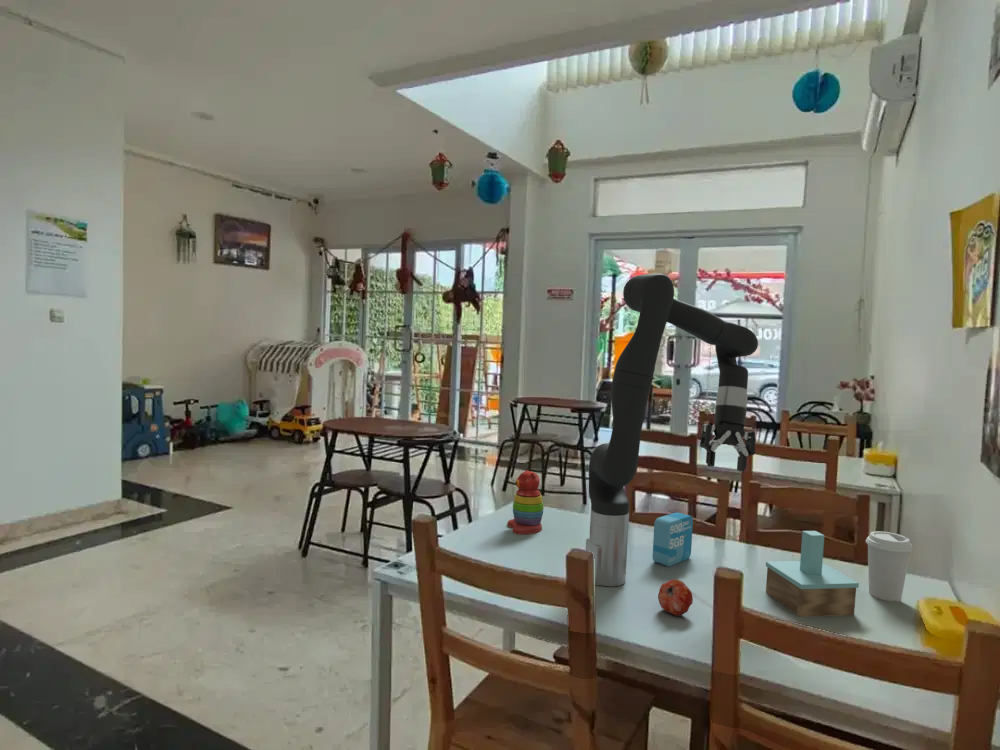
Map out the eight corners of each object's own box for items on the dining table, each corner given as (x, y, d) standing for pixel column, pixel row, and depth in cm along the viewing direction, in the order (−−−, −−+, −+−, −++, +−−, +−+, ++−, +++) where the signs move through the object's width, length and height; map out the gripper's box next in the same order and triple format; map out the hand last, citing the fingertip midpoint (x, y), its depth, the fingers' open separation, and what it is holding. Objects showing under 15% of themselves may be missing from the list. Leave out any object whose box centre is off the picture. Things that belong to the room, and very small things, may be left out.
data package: (666, 567, 165) (668, 522, 164) (651, 562, 169) (654, 518, 168) (691, 558, 173) (693, 515, 173) (676, 553, 177) (679, 511, 176)
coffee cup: (908, 610, 144) (914, 546, 143) (860, 600, 149) (865, 537, 148) (908, 596, 152) (913, 535, 151) (862, 587, 157) (867, 527, 156)
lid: (801, 592, 136) (804, 543, 135) (765, 569, 150) (768, 524, 149) (858, 591, 138) (862, 542, 138) (818, 568, 152) (821, 523, 151)
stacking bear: (505, 524, 198) (507, 467, 197) (536, 522, 200) (539, 467, 199) (514, 535, 187) (517, 475, 186) (547, 533, 190) (549, 475, 189)
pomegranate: (664, 612, 144) (642, 594, 138) (682, 585, 145) (661, 565, 140) (690, 629, 137) (668, 610, 132) (708, 600, 139) (687, 581, 134)
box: (799, 620, 137) (801, 588, 136) (765, 595, 150) (767, 566, 149) (853, 618, 139) (856, 587, 138) (815, 593, 152) (817, 565, 151)
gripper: (714, 400, 158) (708, 465, 156) (764, 409, 161) (759, 473, 159) (698, 402, 166) (692, 464, 163) (746, 410, 169) (741, 471, 166)
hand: (725, 468), depth 161 cm, fingers open, 8 cm apart
